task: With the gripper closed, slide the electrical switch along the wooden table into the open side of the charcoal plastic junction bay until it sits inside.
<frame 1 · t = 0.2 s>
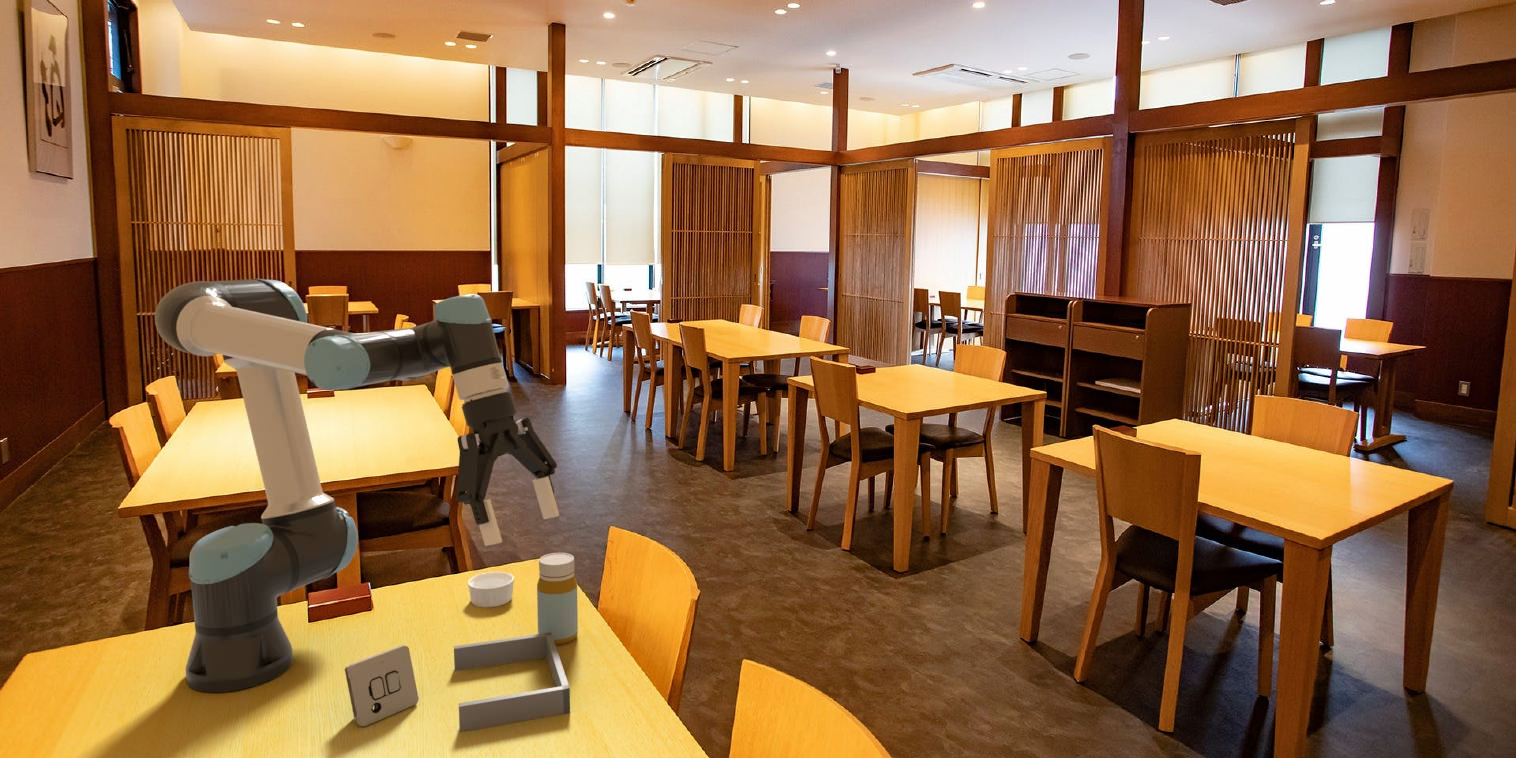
hand: (524, 530, 131), 28 cm above the table, tool tilted 20°, fingers open, 13 cm apart
electrical switch: (380, 712, 131), on the table
junction bay: (509, 689, 138), on the table
bottle: (558, 638, 156), on the table
ramekin: (491, 601, 172), on the table
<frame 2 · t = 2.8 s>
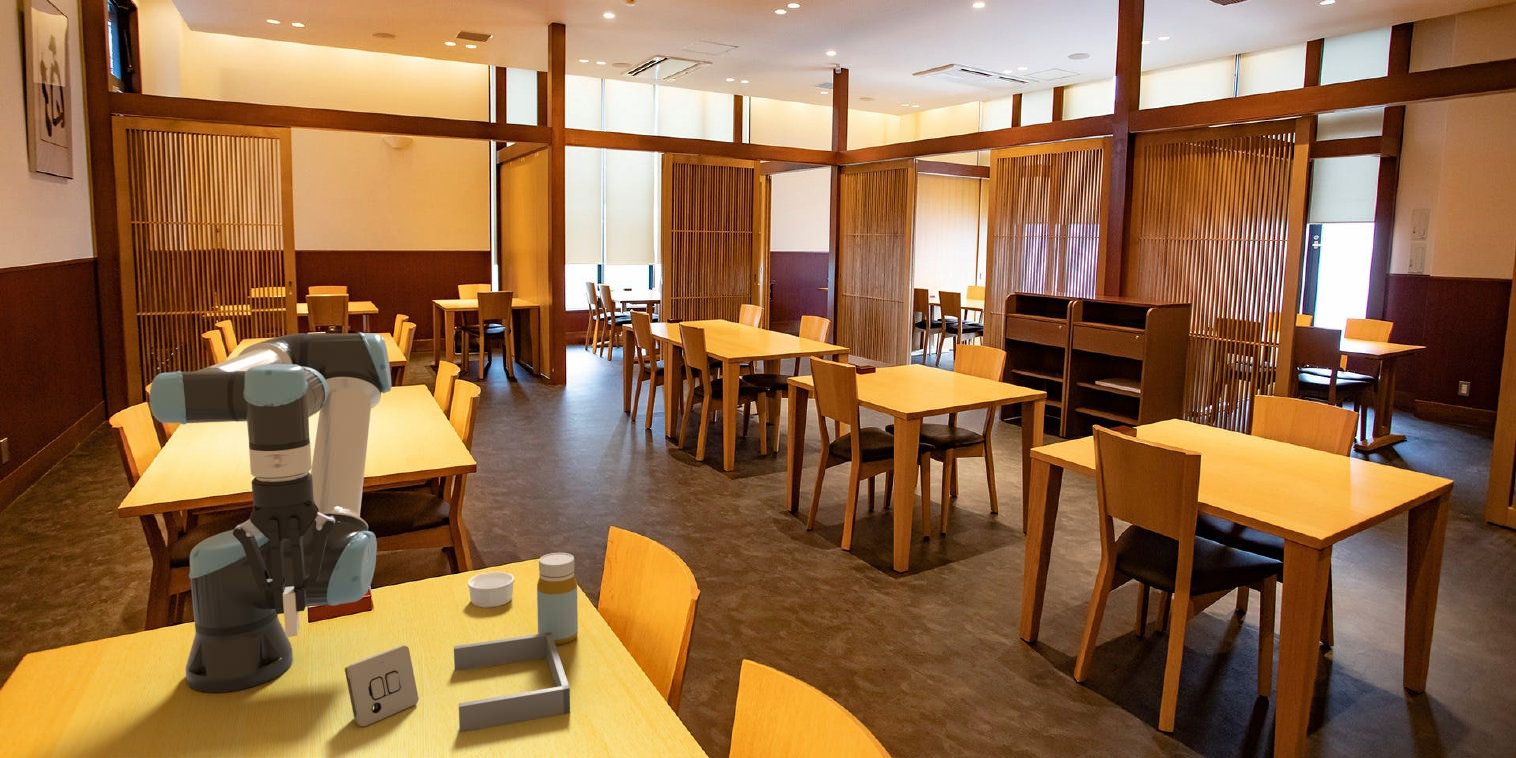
hand: (292, 632, 124), 14 cm above the table, tool pointing down, fingers closed
nothing on the table moved.
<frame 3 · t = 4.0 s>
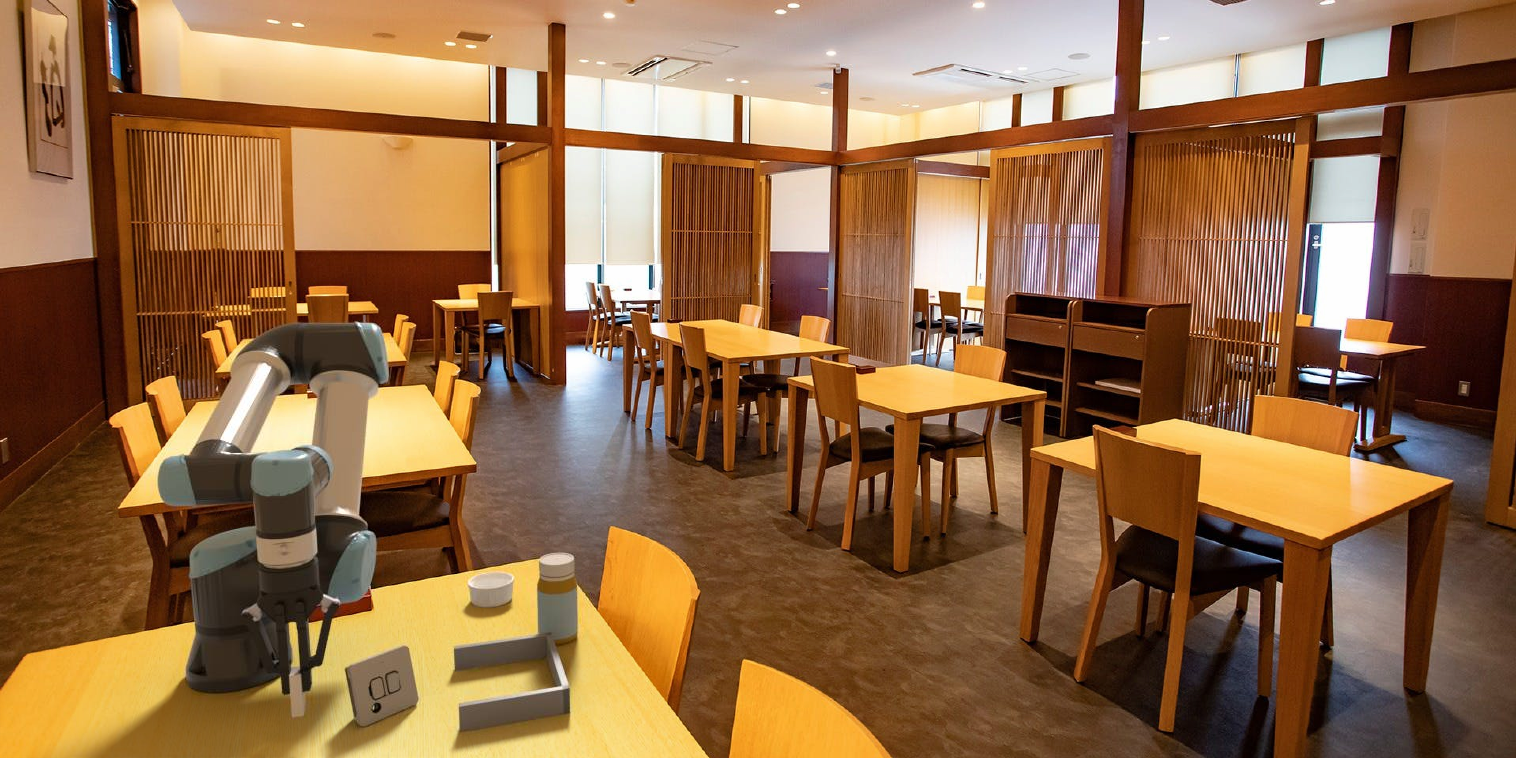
hand: (298, 711, 127), 2 cm above the table, tool pointing down, fingers closed
nothing on the table moved.
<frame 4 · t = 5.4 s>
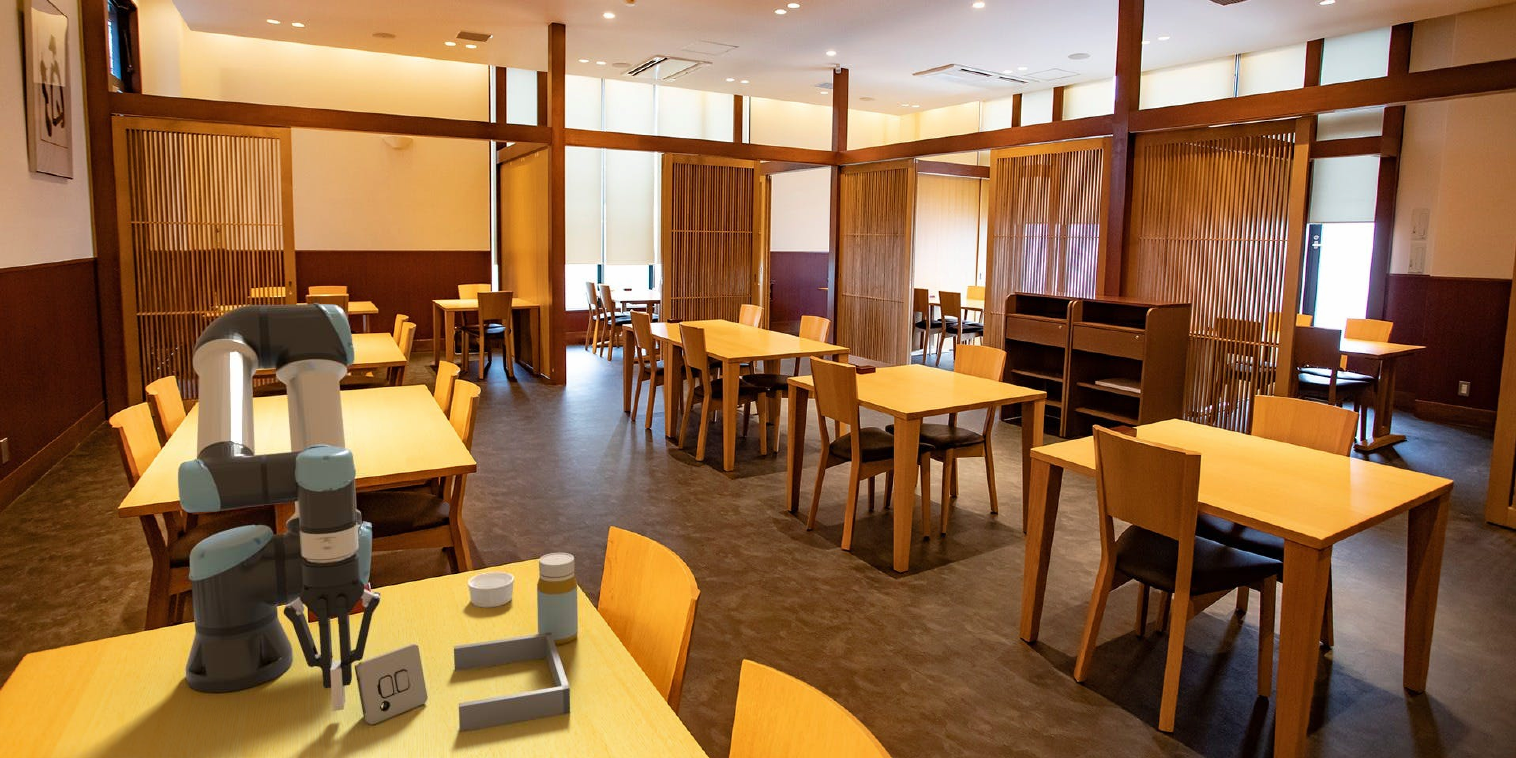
hand: (339, 705, 128), 2 cm above the table, tool pointing down, fingers closed
electrical switch: (389, 710, 131), on the table, touching gripper
everything else where it was.
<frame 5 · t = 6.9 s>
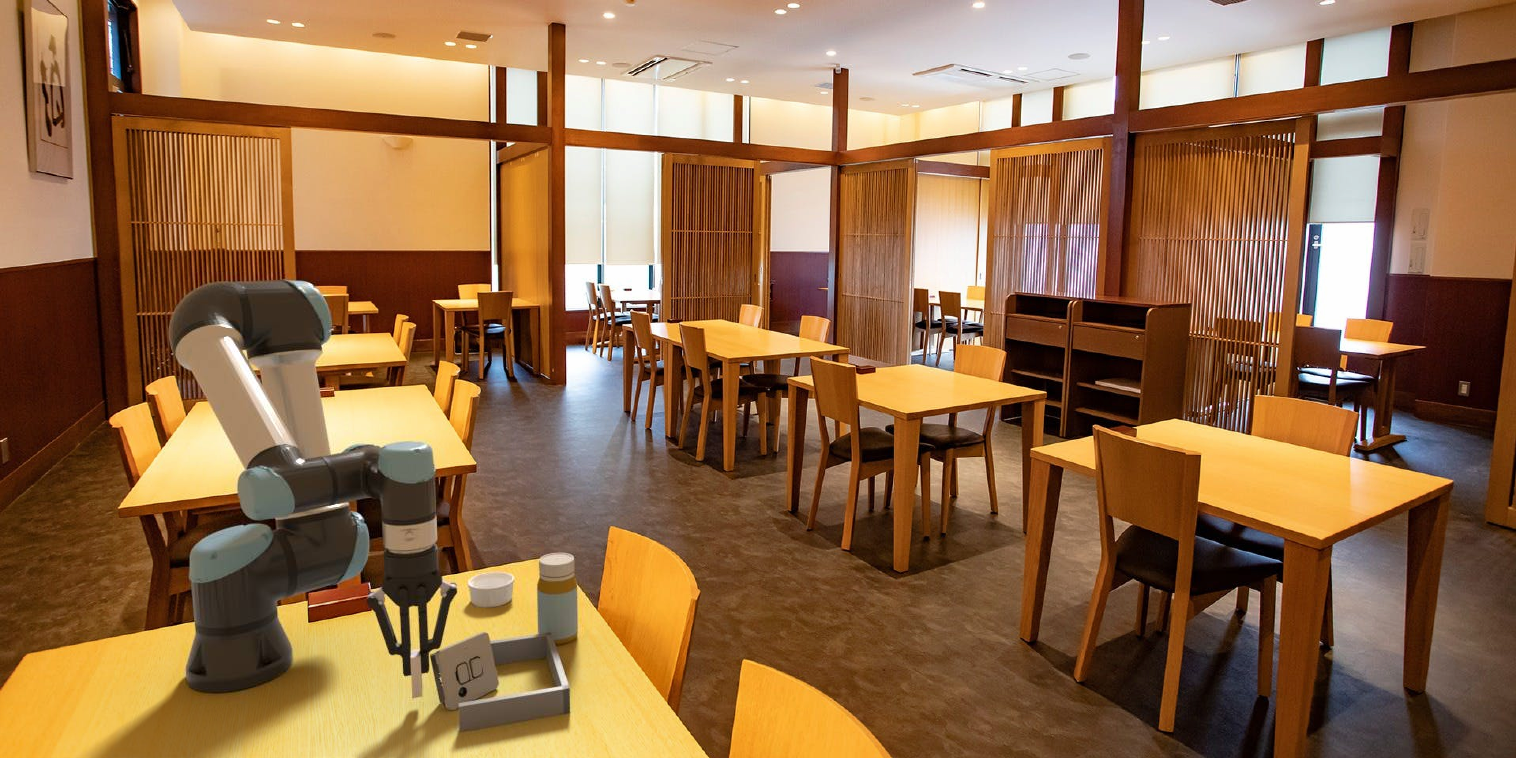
hand: (417, 692, 132), 2 cm above the table, tool pointing down, fingers closed
electrical switch: (463, 696, 136), on the table, touching gripper
everything else where it was.
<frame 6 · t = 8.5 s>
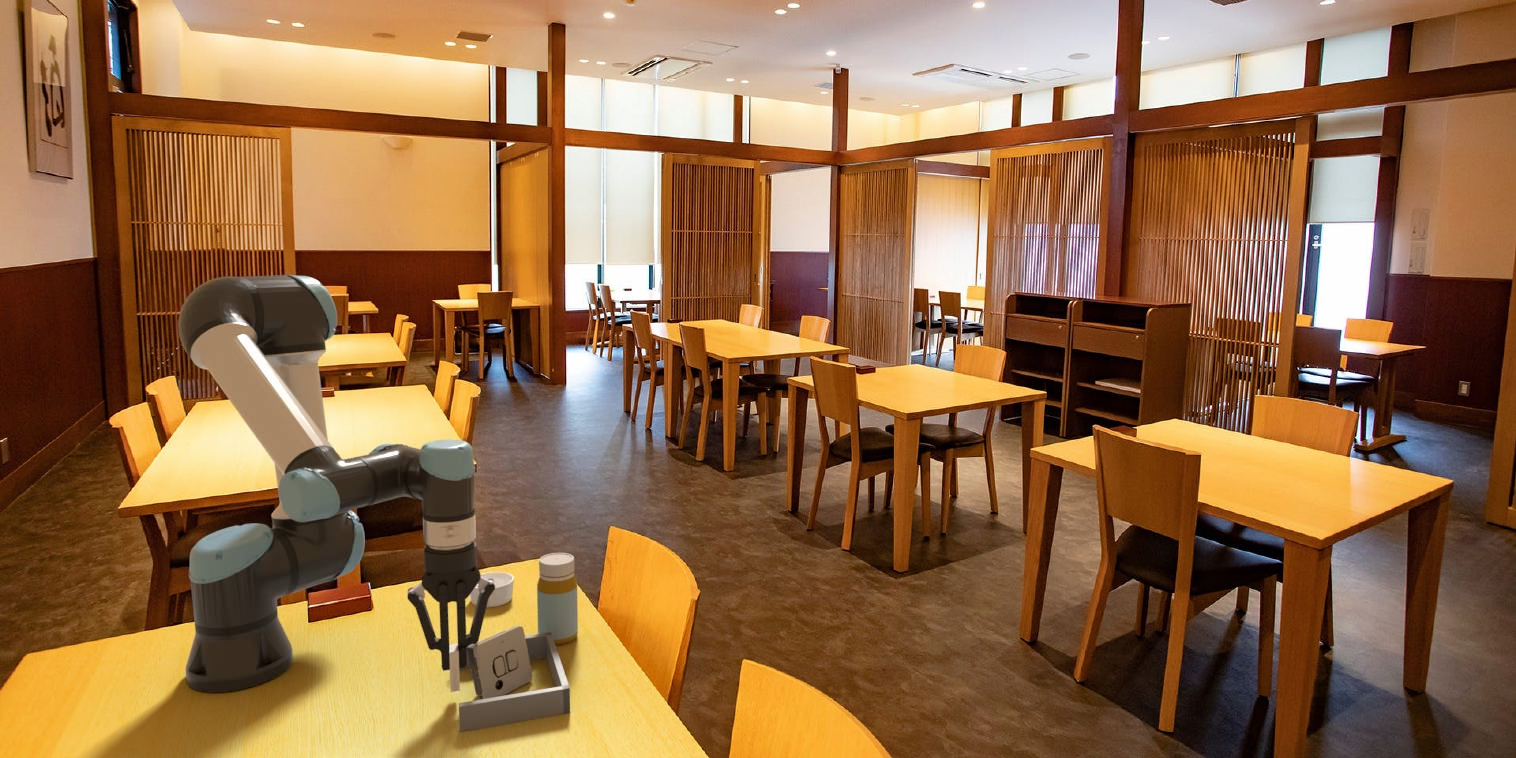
hand: (455, 687, 134), 2 cm above the table, tool pointing down, fingers closed
electrical switch: (498, 689, 138), on the table, touching gripper
everything else where it was.
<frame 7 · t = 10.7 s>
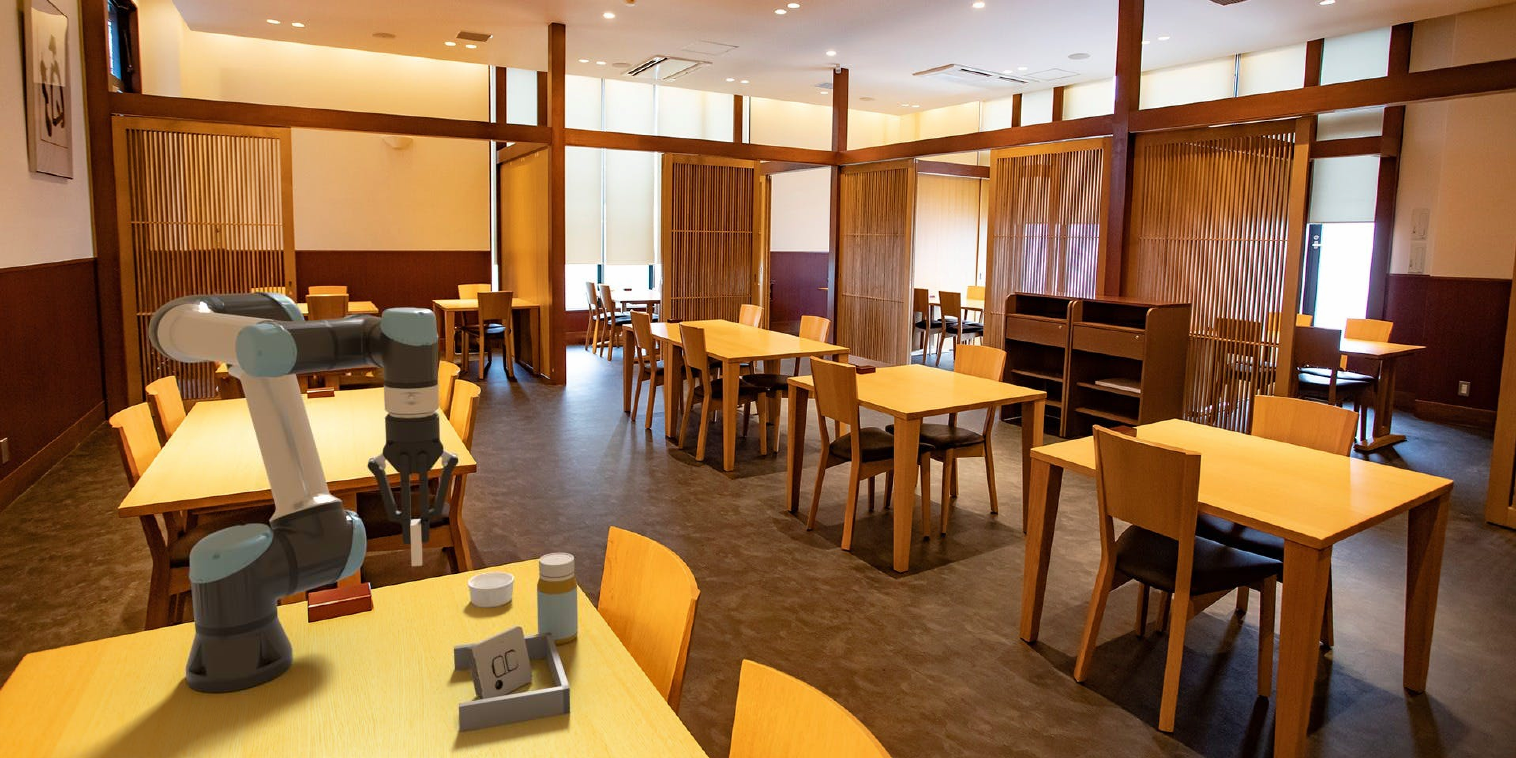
hand: (417, 562, 132), 22 cm above the table, tool pointing down, fingers closed
electrical switch: (498, 689, 138), on the table
everything else where it was.
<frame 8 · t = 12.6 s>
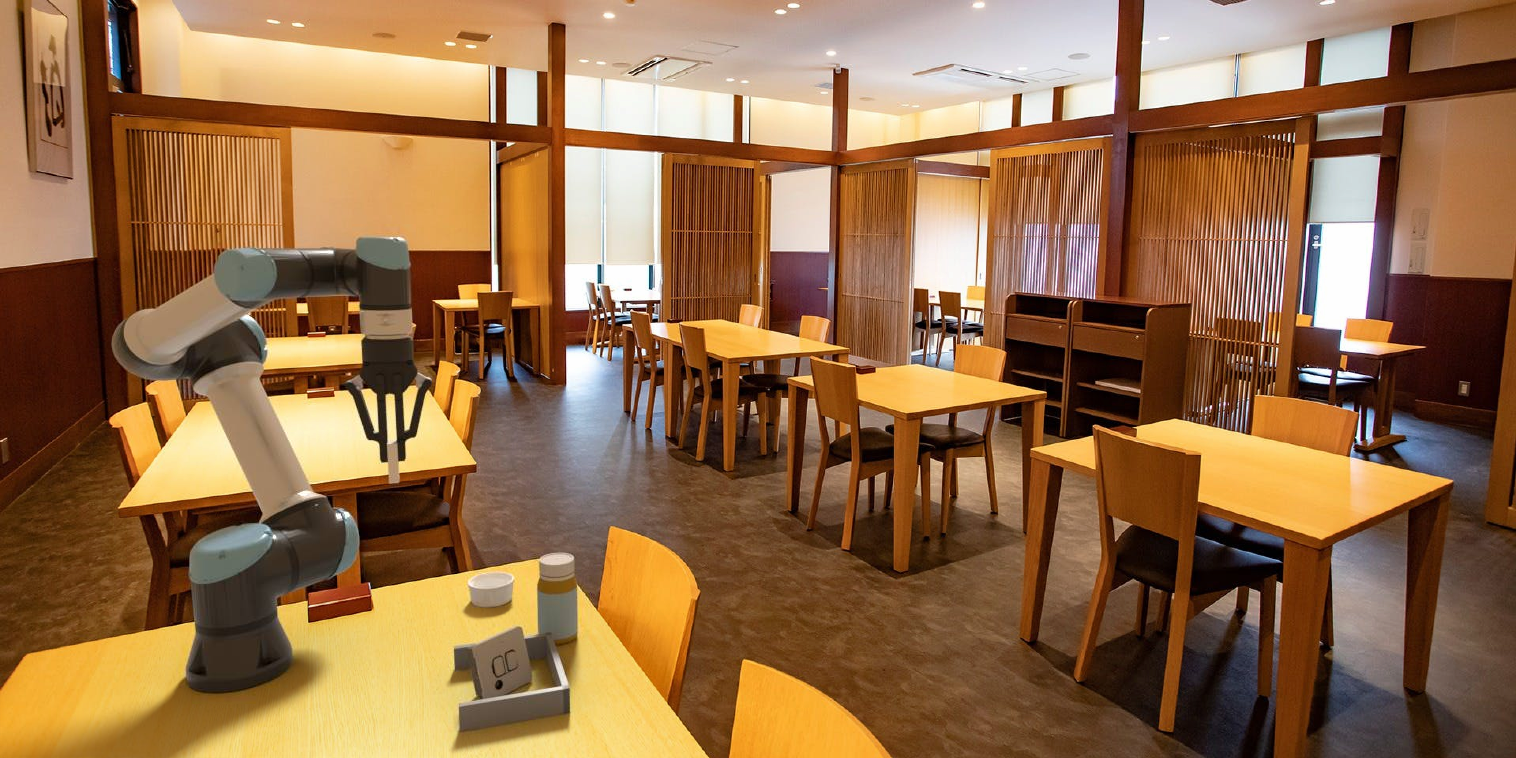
hand: (394, 480, 139), 32 cm above the table, tool pointing down, fingers closed
nothing on the table moved.
at the end: electrical switch inside the target area on the junction bay (1.5 cm from its centre), point 0.0 cm above the junction bay's base; electrical switch tilted 2°; electrical switch moved 17.4 cm from its start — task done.
